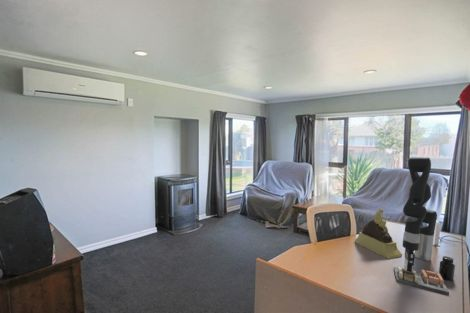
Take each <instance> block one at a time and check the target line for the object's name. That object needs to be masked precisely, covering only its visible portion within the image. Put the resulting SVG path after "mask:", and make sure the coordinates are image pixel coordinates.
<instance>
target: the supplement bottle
mask: <svg viewBox="0 0 470 313" xmlns="http://www.w3.org/2000/svg"><path fill="white" fill-rule="evenodd" d="M438 268H439V269H438V273H440V275H441V277H442V278H443V280H444V281H450V282H453V281H454V279H455V273H456V272H455V270H456V265H455V264H454V258H453V257H451V256H446V255H444V256H442V260H441V261H439V267H438Z"/></svg>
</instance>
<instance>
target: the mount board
mask: <svg viewBox="0 0 470 313" xmlns="http://www.w3.org/2000/svg"><path fill="white" fill-rule="evenodd" d="M403 271H404V267H400V266H398V267H397V266H394V267H393V272H394V275H395V281H396V282H397V283H400V284H404V285H408V286H412V287H415V288H420V289H423V290H428V291H431V292H436V293H439V294H444V295H448V296H449V295H450V291H449V290H448V288H447V286H446V284H445V281H444V282H443V286H441V285H439V283H438V285H437V284H433V283H429V282H428V279H427V282H425V281H424V280H423V278H422V276H421V272H418V271H416V270H414V269H412V275H410V274H405V273H404V277H403ZM428 278H429V277H428ZM435 278H436V275H435Z"/></svg>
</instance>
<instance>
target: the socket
mask: <svg viewBox="0 0 470 313" xmlns="http://www.w3.org/2000/svg"><path fill="white" fill-rule="evenodd" d="M420 273H421V276H422V278H423V280H424V281H425V282H427V279H428V282H429V283H433V284H437V285H438V283H439V285H441V286H443V282H444V283H445V280H444V279H443V278H442V277H441V275H440V273H439V272H435V271H430V270H425V269H421V272H420ZM435 276H436V278H435ZM428 277H429V278H428Z"/></svg>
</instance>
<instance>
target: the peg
mask: <svg viewBox="0 0 470 313" xmlns="http://www.w3.org/2000/svg"><path fill="white" fill-rule="evenodd" d="M410 263H412V261H410ZM403 268H404V271H403V277H404V273H405V274H410V275H412V272H409V271H407V260H406V258H405V257H404V265H403ZM413 268H414V266H412V270H414V269H413Z"/></svg>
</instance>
